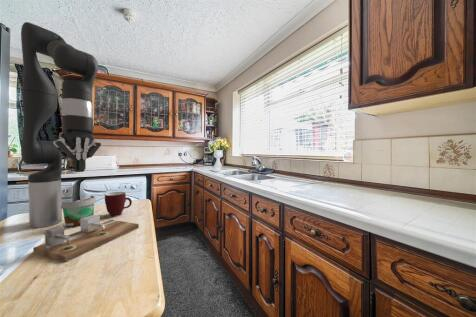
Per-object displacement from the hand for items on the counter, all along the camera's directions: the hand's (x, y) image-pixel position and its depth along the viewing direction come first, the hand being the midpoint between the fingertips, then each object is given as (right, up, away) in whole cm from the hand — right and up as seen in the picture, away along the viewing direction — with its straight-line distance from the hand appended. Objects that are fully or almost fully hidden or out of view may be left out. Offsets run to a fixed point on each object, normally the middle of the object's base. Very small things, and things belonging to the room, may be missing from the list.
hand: (79, 171), depth 59 cm
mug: (-6, -22, +29) cm, 37 cm away
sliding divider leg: (+1, -20, +6) cm, 21 cm away
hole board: (+1, -23, +5) cm, 23 cm away
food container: (-13, -23, +18) cm, 31 cm away
